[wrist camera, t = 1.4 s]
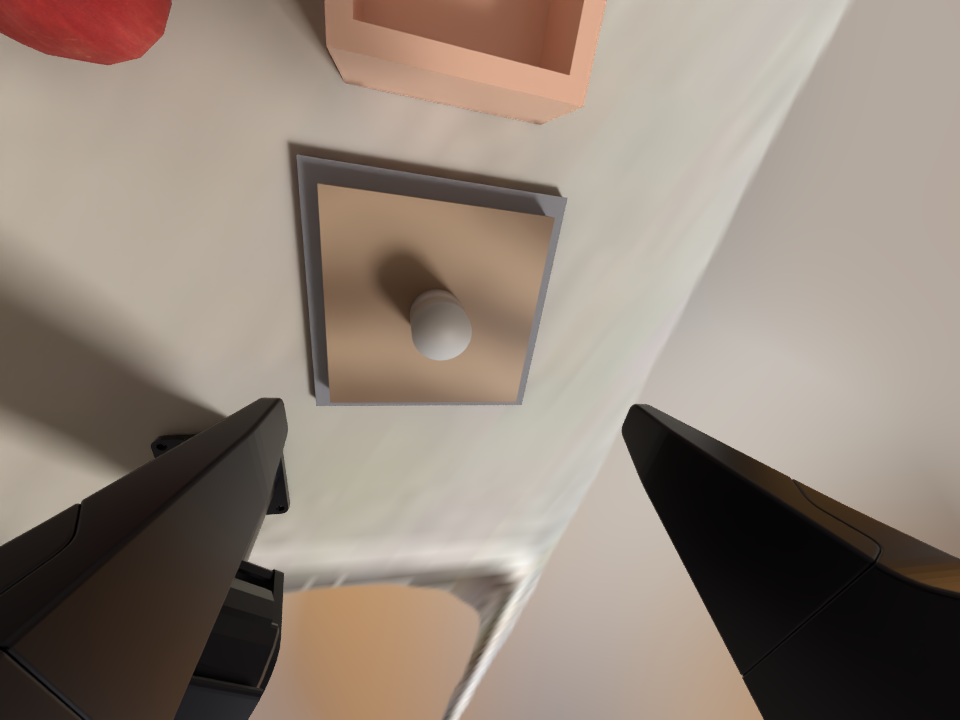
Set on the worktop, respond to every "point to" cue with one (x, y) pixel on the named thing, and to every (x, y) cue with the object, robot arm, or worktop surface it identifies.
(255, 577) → the robot arm
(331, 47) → the terracotta dish
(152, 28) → the onion
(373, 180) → the rubber mat
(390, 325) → the walnut lid
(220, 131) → the worktop surface
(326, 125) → the worktop surface
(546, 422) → the worktop surface
